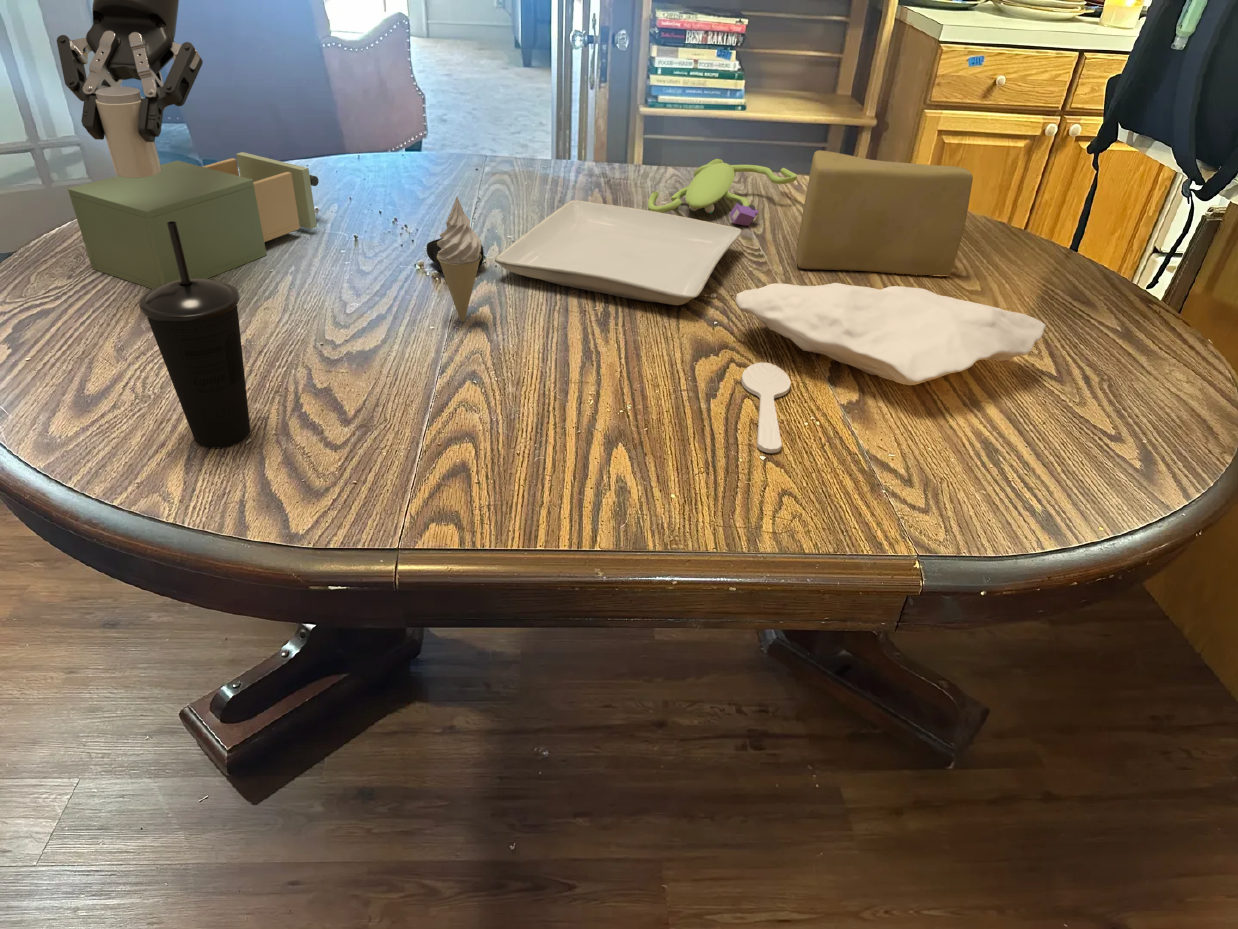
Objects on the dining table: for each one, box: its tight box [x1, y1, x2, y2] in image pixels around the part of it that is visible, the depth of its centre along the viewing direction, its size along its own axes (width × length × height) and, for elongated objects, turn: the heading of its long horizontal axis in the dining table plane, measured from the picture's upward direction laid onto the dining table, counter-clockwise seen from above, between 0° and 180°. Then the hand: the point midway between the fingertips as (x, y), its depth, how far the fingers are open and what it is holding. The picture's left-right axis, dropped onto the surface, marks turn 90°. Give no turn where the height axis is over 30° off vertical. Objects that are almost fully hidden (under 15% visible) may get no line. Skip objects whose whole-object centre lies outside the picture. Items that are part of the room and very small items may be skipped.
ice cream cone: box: [437, 195, 482, 323], centre depth 97 cm, size 5×5×15 cm
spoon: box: [740, 361, 792, 454], centre depth 89 cm, size 5×18×1 cm, turn 173°
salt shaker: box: [95, 86, 162, 178], centre depth 88 cm, size 4×4×8 cm
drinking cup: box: [138, 221, 251, 449], centre depth 73 cm, size 8×8×20 cm
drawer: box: [201, 151, 319, 243], centre depth 118 cm, size 19×12×8 cm, turn 153°
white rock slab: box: [735, 282, 1047, 386], centre depth 97 cm, size 24×35×9 cm
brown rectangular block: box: [795, 149, 974, 276], centre depth 120 cm, size 22×10×15 cm, turn 81°
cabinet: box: [67, 160, 267, 290], centre depth 108 cm, size 16×14×10 cm
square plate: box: [494, 199, 742, 306], centre depth 118 cm, size 27×27×4 cm
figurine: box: [647, 158, 798, 227], centre depth 143 cm, size 18×27×6 cm
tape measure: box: [426, 237, 485, 273], centre depth 113 cm, size 7×7×4 cm
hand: (120, 135), depth 86 cm, fingers closed on salt shaker, 4 cm apart
